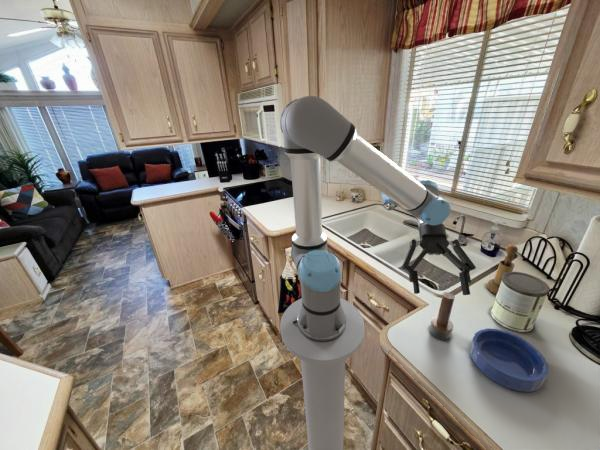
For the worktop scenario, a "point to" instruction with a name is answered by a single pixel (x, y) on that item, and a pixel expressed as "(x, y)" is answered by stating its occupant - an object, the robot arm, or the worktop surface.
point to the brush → (443, 318)
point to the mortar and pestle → (503, 269)
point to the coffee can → (519, 301)
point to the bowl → (508, 360)
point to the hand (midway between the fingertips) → (441, 294)
